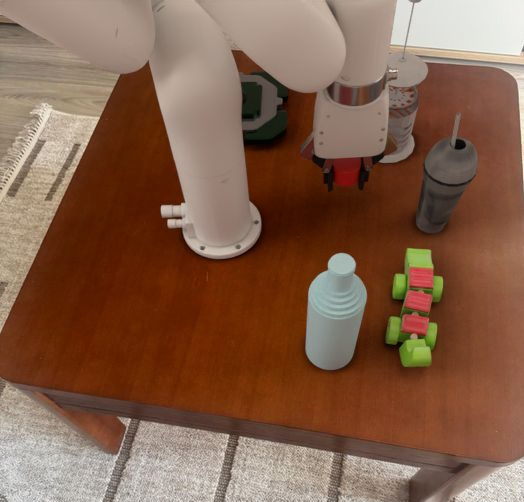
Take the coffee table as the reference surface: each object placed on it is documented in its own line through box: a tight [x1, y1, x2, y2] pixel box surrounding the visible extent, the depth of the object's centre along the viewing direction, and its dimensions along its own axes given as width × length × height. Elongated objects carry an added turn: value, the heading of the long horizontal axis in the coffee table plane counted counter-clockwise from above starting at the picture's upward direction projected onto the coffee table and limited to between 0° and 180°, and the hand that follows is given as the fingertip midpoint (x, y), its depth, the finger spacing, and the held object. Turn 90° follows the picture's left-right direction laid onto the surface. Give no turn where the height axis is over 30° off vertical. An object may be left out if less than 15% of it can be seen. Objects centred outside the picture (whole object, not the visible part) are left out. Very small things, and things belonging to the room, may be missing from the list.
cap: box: [332, 157, 361, 188], centre depth 80 cm, size 4×4×3 cm
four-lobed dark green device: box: [238, 70, 289, 146], centre depth 94 cm, size 18×18×5 cm
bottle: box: [304, 252, 368, 371], centre depth 65 cm, size 7×7×20 cm
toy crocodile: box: [385, 247, 444, 368], centre depth 73 cm, size 20×7×6 cm, turn 167°
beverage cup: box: [415, 112, 479, 234], centre depth 74 cm, size 7×7×20 cm
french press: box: [378, 0, 429, 164], centre depth 80 cm, size 10×12×25 cm
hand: (344, 183), depth 83 cm, fingers closed on cap, 4 cm apart
